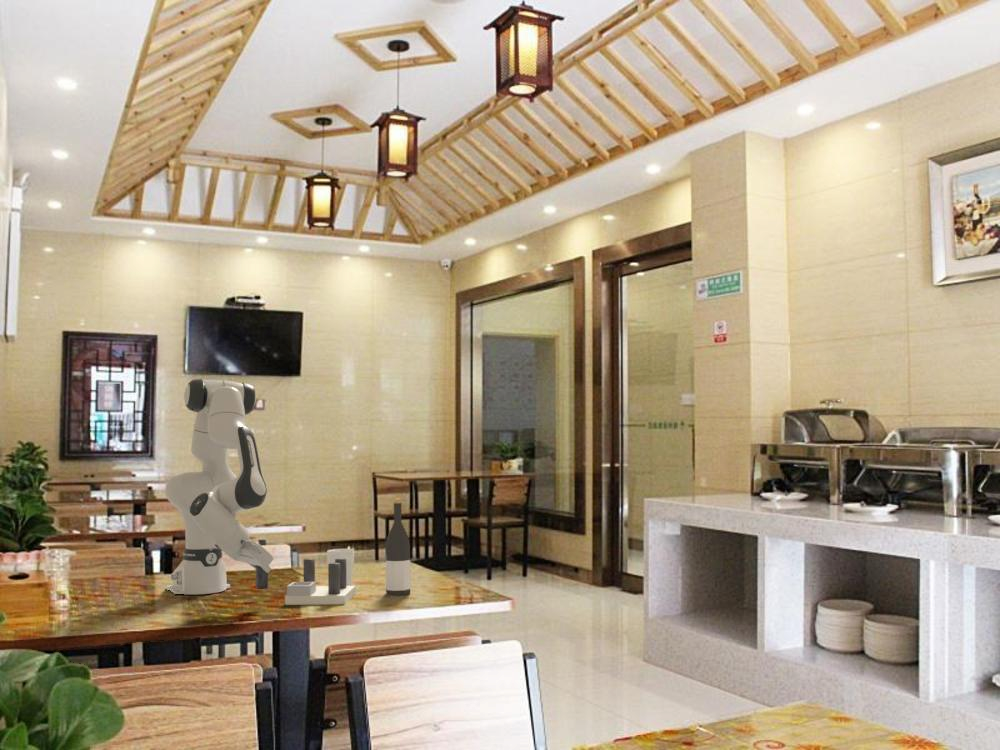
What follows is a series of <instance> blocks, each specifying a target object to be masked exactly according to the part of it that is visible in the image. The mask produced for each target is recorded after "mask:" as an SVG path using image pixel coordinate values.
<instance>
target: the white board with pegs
mask: <svg viewBox="0 0 1000 750" xmlns="http://www.w3.org/2000/svg"><path fill="white" fill-rule="evenodd" d="M315 566H316V559H315V558H304V559H303V581H292V582H291V583H289V584H288V585H286V595H284V604H285V605H286V606H288V605H289V606H294V605H295V606H296V605H297V606H298V605H301V606H302V605H303V606H304V605H306V606H308V605H346V604H347V603H348V601H350V600H351V599H352V598H353V597H354V596H355V595H356V593H357V586H356V585H351V586H346V558H338V559H335V563H329V564H328V565H327V571H328V573H327V574H328V575H327V576H328V577H327V579H328V585H317V583H316V567H315Z"/></svg>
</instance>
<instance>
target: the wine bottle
mask: <svg viewBox="0 0 1000 750" xmlns="http://www.w3.org/2000/svg"><path fill="white" fill-rule="evenodd" d="M401 500H402V499H401V497H400V498H397V497H396V498H394V503H393V523H392V526H391V528H390V530H389V532H388V536H387V538H386V543H385V592H386V595H387V596H392V597H393V596H405V595H406V596H408V595H409V594H411V544H410V539H409V536H408V533H407V531H406V528H405V527H404V525H403V522H402V505H403V504H402V502H401Z"/></svg>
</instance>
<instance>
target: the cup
mask: <svg viewBox="0 0 1000 750" xmlns="http://www.w3.org/2000/svg"><path fill="white" fill-rule="evenodd" d="M354 551H355V550H354V548H333V549H328V550H327V552H326V553H327V554H326V564H327V565H326V566H328V564H329V563H335V559H338V558H346V586H352V585H351V584H352V580H353V579H352V578H353V570H354V562H355V555H354V553H355V552H354Z"/></svg>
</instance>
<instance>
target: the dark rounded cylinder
mask: <svg viewBox="0 0 1000 750" xmlns="http://www.w3.org/2000/svg"><path fill="white" fill-rule="evenodd" d="M255 589H257V590H267V589H269V572H268V573H266V572H264V571H263V570H262V568H261V567H260V566H257V565H256V569H255Z"/></svg>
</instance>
